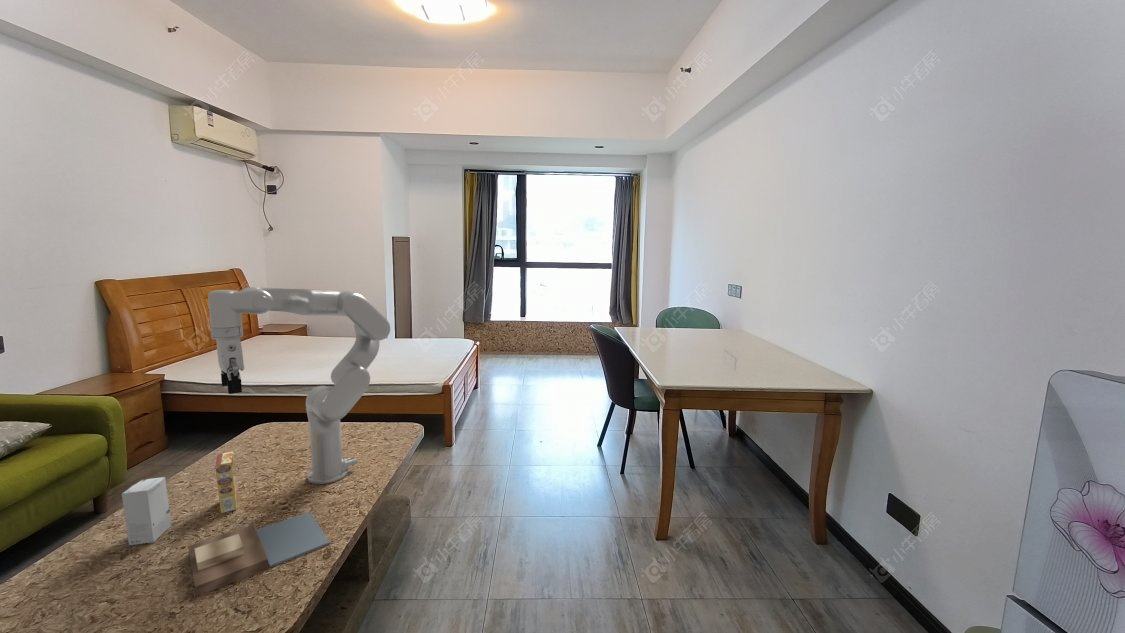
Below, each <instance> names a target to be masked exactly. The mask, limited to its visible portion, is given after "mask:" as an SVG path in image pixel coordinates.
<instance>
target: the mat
mask: <svg viewBox="0 0 1125 633" xmlns="http://www.w3.org/2000/svg"><path fill="white" fill-rule="evenodd" d="M255 530H256V532H257V534H258V537H259V539H260V542H261V544H262V546H263V549H264V551H265V553H266V556H267V558H268V567H269V568H273V567H275V566H278V565H280V564H282V563H286V562H288V561H291V560H293V559H296V558H298V557H301V556H303V555H306V554H308V553H311V552H313V551H314V552H315V551H317V550H319V549H321V548H325V547H326V546H328V545H331V544H330V541H329V538H328V537H327V536H326V534H325V533H324V532H323V530H322V528H321V527H320V525H319V524H318V522H317V521H316V518H315V517H314V515H313V514H312V513H311V511H309V512H305V513H303V514H299V515H296V516H293V517H290V518H288V519H285V520H282V521H279V522H275V523H272V524H270V525H267V526H264V527H261V528H258V529H255Z"/></svg>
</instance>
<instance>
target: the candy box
mask: <svg viewBox="0 0 1125 633" xmlns="http://www.w3.org/2000/svg"><path fill="white" fill-rule="evenodd" d="M214 467H215V473H216V482H217V492H218V499H219V509H220V514H224V513H228V512H232V511H236V510H238V502H239V493H238V484H237V475H236V466H235V457H234V451H228V452H222V453H218V454H217V457H216V460H215V465H214Z"/></svg>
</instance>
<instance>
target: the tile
mask: <svg viewBox="0 0 1125 633" xmlns="http://www.w3.org/2000/svg"><path fill="white" fill-rule="evenodd" d="M243 554H244V549H243V544H242V542H241V539H240V536H239V534H236V535H233V536H230V537H227V538H224V539H221V540H218V541H216V542H213V543H210V544H207V545H204V546H201V547H198V548H195V557H196V562H197V567H198V571H199V570H202V569H204V568H207V567H210V566H213V565H215V564H218V563H221V562H224V561H226V560H229V559H232V558H235V557H237V556H240V555H243Z"/></svg>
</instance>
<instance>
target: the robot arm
mask: <svg viewBox="0 0 1125 633" xmlns="http://www.w3.org/2000/svg"><path fill="white" fill-rule="evenodd" d="M207 296H208V297H207V301H208V311H209V312H208V313H209V314H208V315H209V324H210V325H209V326H210V327H209V328H210V337H211V339H212V340H216V351H217V352H216V353H217V362H218V367H219V368H220V371H221V372H220V378H221V379H220V380H221V386H222V387H227V392H228V394H229V395H233V394H239V393H242V391H243V390H242V386H243V385H242V378H241V374H240V371H241V372H242V371H243V372H244V370H245V364H244V356H243V355H244V354H243V347H242V346H243V345H242V341H241V338H242V337H244V328H243V327H244V326H243V314H244V315H249V314H250V315H262V314H266V313H267V312H285V313H291V314H295V315H301V316H316V317H319V316H323V317H324V316H325V317H326V316H328V317H330V316H332V317H333V316H335V317H337V316H338V317H341V316H342V317H347V318H348V319H350V321H352V322H353V328H354V332H355V341H354V344H353V345H352V347H350V349H349V351H348V352H346V353H347V354H345V355H344V357H343V358H342V359H341V360H340V361H339V362H338V364H336V366H334V368H333V369H332V370H331V373H330V380H331V383H333V387H330V386H327V385H318V386H317V387H316V386H315V387H314V388H312V389H311V390H310V391H309V392H308V393H307V395H306V398H305V410H306V415H307V419H308V429H309V430H308V431H309V444H310V459H311V470H310V472H309V473H308V474H307V476H306V478H307V479H306V480H307V482H308V483H311V484H314V485H324V484H325V485H326V484H329V483H333V482H337V481H340V480H342V479H343V478H345V477H346V476H347V475H348V474H347V473H349V466H354V465H356V464H358V458H357V457H356V458H352V457H348V458H345V459H344V458H343V443H342V442H343V441H342V426H341V425H342V424H341V419H344V417H345V416H346V415H348V413H349V412H350V411H351V410H352V409H353V407H354V406H355V405H356V404H357V402H358V401H359V400H360V399H361V397H362V396H363V395H364V394H365V393H366V391H367V390H368V387H369V386H370V383H371V376H370V372H369V371H368V370H367V369H368V368H369V367H370V366H371V365H372V363H373V362H374V360H375V359H376V357H377V356H378V353H379V350H380V342H381V341H383V340H385V339H387V338H388V336H389V335H390V334H391V333H390V332H391V324H390V322H389V320H388V319H387V318H386V317H385V315H383V314H382V313H381V312H380V311H379V310H378V309H377V308H376V307H375V306H374V305H373V304H372V303H371V302H370V301H369V300H368V299H367V298H366V297H365V296H363V295H362V294H360V293H357V292H354V291H347V290H334V289H332V290H331V289H310V288H280V287H279V288H276V287H263V286H262V287H258V286H250V287H245V288H243V289H241V290H236V289H235V290H234V289H215V290H211V291H209V292H208V294H207ZM341 478H342V479H341ZM339 479H340V480H339Z"/></svg>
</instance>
